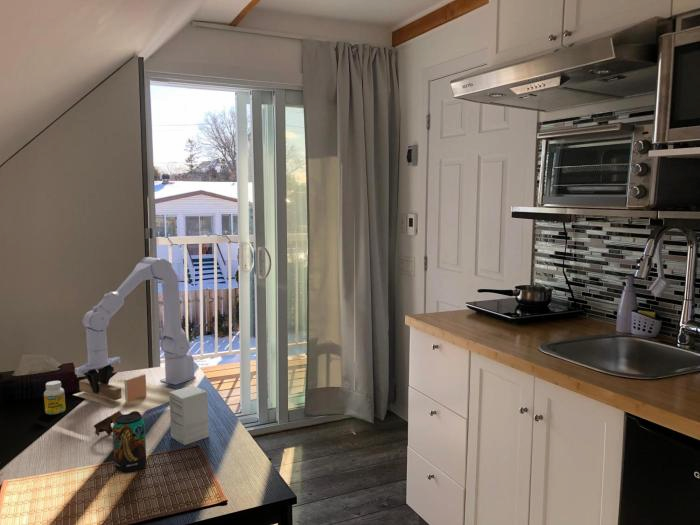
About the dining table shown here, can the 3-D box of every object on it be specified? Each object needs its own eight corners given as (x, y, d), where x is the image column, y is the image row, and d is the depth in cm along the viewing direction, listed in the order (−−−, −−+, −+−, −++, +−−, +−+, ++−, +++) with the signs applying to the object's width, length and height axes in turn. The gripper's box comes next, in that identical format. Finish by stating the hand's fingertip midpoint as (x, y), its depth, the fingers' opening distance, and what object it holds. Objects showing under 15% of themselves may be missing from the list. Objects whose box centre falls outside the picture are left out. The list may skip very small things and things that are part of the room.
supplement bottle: (64, 409, 172) (62, 378, 171) (67, 415, 168) (64, 383, 167) (44, 413, 169) (42, 382, 168) (46, 419, 165) (44, 386, 164)
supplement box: (195, 429, 156) (193, 384, 155) (209, 437, 151) (207, 391, 150) (170, 437, 151) (168, 391, 150) (184, 446, 146) (182, 398, 145)
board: (126, 380, 200) (126, 377, 199) (190, 396, 183) (190, 393, 182) (72, 397, 183) (72, 394, 183) (137, 417, 166) (137, 413, 166)
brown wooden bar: (86, 388, 186) (86, 378, 185) (121, 398, 176) (121, 388, 176) (79, 390, 184) (79, 380, 183) (114, 400, 174) (114, 390, 174)
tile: (144, 395, 181) (143, 373, 181) (147, 395, 181) (145, 374, 180) (125, 401, 176) (124, 379, 175) (127, 402, 175) (126, 380, 174)
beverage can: (115, 476, 130) (112, 425, 129) (114, 463, 137) (111, 415, 135) (147, 470, 133) (145, 420, 132) (145, 458, 139) (143, 410, 138)
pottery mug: (112, 452, 144) (96, 423, 144) (101, 457, 151) (85, 429, 151) (153, 426, 153) (138, 399, 153) (141, 431, 159) (126, 406, 160)
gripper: (110, 342, 186) (112, 382, 188) (67, 352, 174) (70, 395, 176) (123, 345, 183) (126, 386, 184) (81, 355, 170) (84, 400, 172)
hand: (100, 391), depth 180 cm, fingers closed on brown wooden bar, 2 cm apart
